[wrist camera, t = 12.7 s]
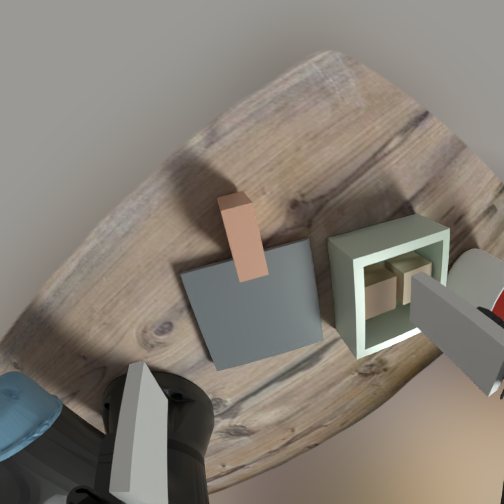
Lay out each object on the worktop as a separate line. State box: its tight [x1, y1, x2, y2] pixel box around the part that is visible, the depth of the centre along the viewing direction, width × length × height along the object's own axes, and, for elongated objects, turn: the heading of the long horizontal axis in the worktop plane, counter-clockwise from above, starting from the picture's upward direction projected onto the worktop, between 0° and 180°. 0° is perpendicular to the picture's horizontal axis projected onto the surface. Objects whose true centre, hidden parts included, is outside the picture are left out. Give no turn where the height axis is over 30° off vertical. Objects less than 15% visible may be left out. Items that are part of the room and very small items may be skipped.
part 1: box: [363, 262, 397, 320], centre depth 31 cm, size 4×4×4 cm
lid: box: [180, 191, 323, 371], centre depth 29 cm, size 13×19×6 cm
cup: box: [446, 248, 504, 321], centre depth 33 cm, size 10×10×10 cm
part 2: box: [385, 251, 432, 305], centre depth 31 cm, size 4×4×4 cm
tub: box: [327, 214, 450, 359], centre depth 31 cm, size 12×12×6 cm
